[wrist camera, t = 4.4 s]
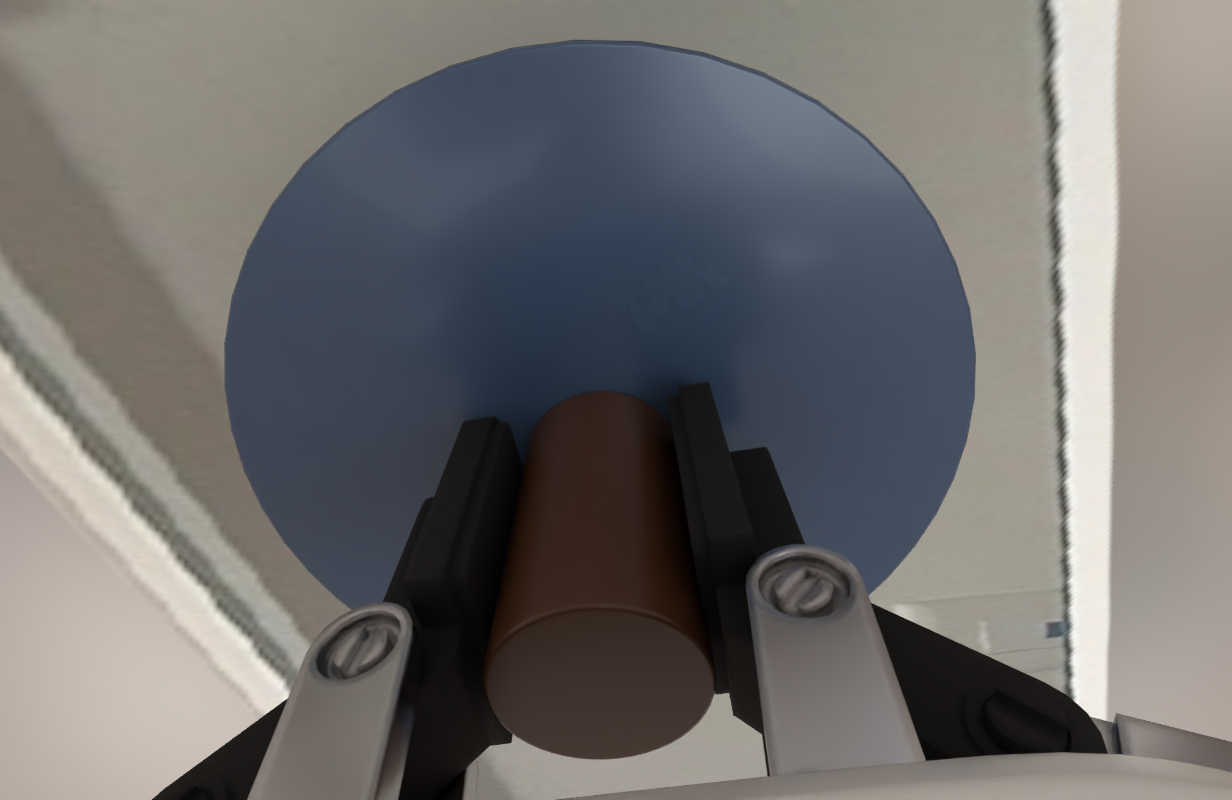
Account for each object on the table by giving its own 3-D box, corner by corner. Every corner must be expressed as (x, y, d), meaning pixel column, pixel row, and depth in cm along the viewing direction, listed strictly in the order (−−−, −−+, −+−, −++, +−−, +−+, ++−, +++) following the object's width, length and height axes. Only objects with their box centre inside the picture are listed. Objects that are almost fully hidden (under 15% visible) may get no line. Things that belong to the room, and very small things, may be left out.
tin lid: (110, 132, 10) (-436, 229, 5) (978, -47, 9) (1490, -170, 4) (395, 682, 17) (295, 985, 11) (926, 613, 16) (1092, 910, 10)
